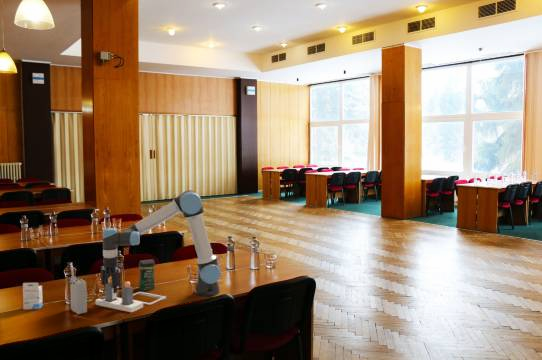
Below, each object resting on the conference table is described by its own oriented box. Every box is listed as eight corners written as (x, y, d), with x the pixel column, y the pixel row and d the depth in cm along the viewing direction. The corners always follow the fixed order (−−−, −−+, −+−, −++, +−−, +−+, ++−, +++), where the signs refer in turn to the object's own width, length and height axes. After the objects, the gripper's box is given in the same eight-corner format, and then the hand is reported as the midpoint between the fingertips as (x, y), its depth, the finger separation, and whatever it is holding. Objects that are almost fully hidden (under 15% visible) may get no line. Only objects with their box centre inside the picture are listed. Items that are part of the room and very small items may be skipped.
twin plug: (132, 307, 254) (132, 281, 253) (127, 309, 251) (127, 283, 249) (127, 305, 256) (127, 280, 255) (122, 308, 252) (121, 282, 251)
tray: (166, 299, 270) (166, 296, 270) (150, 306, 258) (150, 303, 258) (139, 293, 279) (139, 291, 279) (122, 300, 267) (122, 298, 266)
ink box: (43, 306, 257) (42, 280, 256) (39, 309, 252) (38, 282, 251) (27, 306, 256) (26, 280, 255) (23, 309, 251) (22, 283, 250)
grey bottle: (116, 302, 259) (116, 277, 258) (111, 304, 256) (110, 279, 255) (111, 301, 261) (110, 276, 260) (105, 303, 257) (105, 278, 256)
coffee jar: (140, 292, 282) (140, 262, 281) (137, 288, 289) (137, 259, 288) (156, 290, 287) (156, 260, 285) (153, 286, 294) (153, 257, 292)
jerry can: (68, 307, 255) (67, 263, 253) (78, 305, 258) (77, 261, 256) (77, 316, 243) (76, 269, 241) (87, 314, 246) (86, 267, 244)
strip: (143, 308, 254) (143, 301, 254) (131, 314, 246) (131, 306, 246) (107, 301, 266) (107, 294, 265) (95, 306, 257) (95, 298, 257)
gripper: (127, 256, 256) (127, 298, 258) (104, 253, 263) (104, 293, 265) (117, 259, 249) (117, 302, 251) (93, 256, 257) (94, 297, 258)
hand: (111, 297), depth 258 cm, fingers closed on grey bottle, 4 cm apart
